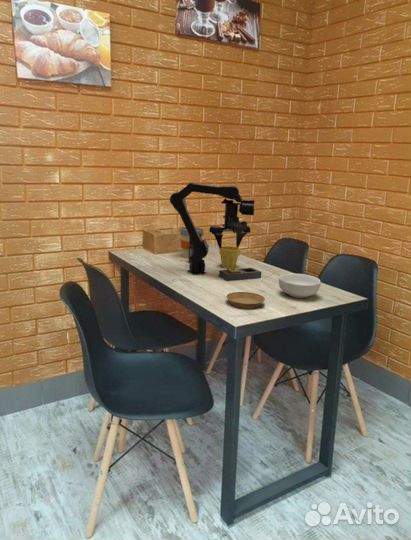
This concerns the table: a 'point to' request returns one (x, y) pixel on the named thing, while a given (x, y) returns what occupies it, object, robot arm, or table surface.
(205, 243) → the robot arm
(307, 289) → the cereal bowl
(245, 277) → the rail
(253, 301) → the plant saucer
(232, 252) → the plant pot
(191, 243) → the deodorant
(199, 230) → the reusable coffee cup
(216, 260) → the table surface
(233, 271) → the nut
